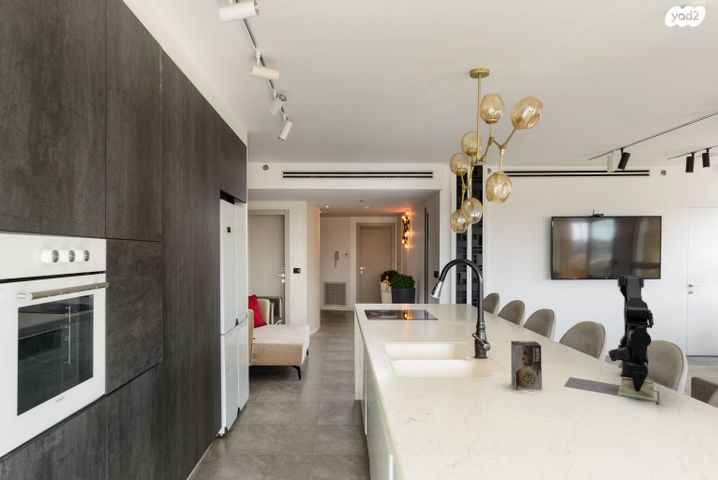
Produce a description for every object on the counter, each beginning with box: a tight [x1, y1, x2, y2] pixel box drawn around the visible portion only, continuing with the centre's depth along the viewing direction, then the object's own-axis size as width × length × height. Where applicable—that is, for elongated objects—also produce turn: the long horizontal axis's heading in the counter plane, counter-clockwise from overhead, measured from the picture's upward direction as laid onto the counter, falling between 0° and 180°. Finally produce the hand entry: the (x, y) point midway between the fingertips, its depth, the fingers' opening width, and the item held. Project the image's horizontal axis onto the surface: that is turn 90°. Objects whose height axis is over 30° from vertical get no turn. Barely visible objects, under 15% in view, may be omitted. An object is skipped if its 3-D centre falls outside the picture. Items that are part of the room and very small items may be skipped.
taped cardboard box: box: [621, 377, 654, 398], centre depth 145 cm, size 9×5×4 cm, turn 55°
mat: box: [563, 376, 660, 406], centre depth 150 cm, size 14×28×1 cm, turn 55°
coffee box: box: [510, 340, 543, 391], centre depth 152 cm, size 9×6×16 cm
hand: (637, 388), depth 145 cm, fingers open, 9 cm apart
